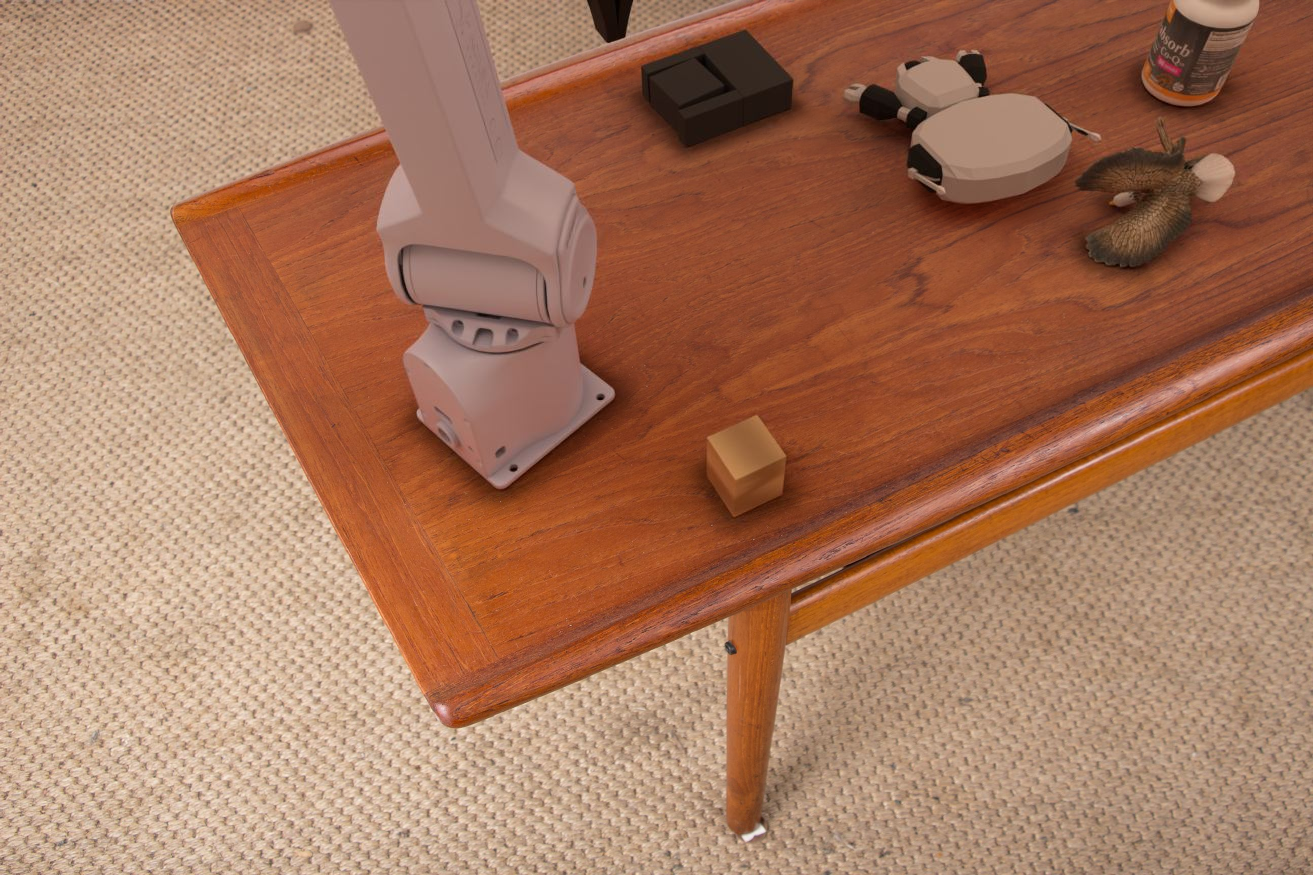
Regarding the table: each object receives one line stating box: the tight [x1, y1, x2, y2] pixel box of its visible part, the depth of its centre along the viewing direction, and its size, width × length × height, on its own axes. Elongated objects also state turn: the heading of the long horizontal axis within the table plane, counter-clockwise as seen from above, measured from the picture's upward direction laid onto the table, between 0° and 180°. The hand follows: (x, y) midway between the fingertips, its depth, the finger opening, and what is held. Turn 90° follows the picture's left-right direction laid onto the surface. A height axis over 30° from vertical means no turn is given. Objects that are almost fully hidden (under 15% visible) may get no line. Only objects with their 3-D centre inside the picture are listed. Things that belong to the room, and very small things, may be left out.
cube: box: [706, 414, 787, 518], centre depth 60 cm, size 3×3×4 cm
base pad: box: [640, 28, 794, 148], centre depth 80 cm, size 9×7×3 cm
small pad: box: [650, 58, 724, 134], centre depth 80 cm, size 4×4×3 cm
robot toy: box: [843, 49, 1102, 205], centre depth 75 cm, size 12×4×15 cm
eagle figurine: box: [1073, 115, 1236, 268], centre depth 70 cm, size 8×7×9 cm
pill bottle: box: [1141, 0, 1260, 107], centre depth 76 cm, size 6×6×10 cm
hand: (610, 33), depth 71 cm, fingers closed
